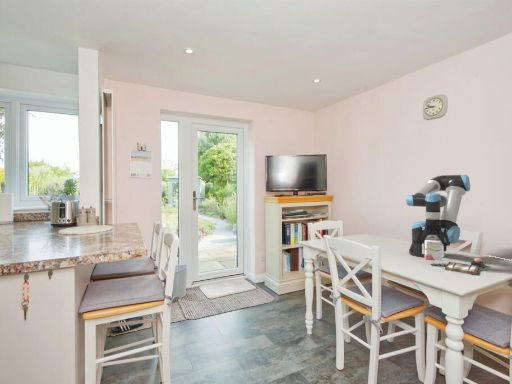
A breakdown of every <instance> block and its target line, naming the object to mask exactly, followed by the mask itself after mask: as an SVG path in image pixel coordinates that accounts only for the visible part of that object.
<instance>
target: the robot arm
mask: <svg viewBox="0 0 512 384" xmlns="http://www.w3.org/2000/svg"><path fill="white" fill-rule="evenodd" d="M470 191H471V180H470V177H469V176H468V175H467V174H449V175H448V174H446V175H443V174H442V175H438V176H435V177H433V178H431V179H429V180H427V181H426V183H425V184H424V186H423V187H421V189H419V190H418V191H417V192H415V193H414V194H408V195H406V198H405V202H406V203H405V204H406V205H407V206H410V207H424V208H425V220H423V221H414V222H413V223H412V225H411V244H410V246H409V249H408V254H409V255H411V256H414V257H418V258H424V240H425V239H426V237H427V236H428V235H437V236H438V237H439V239H440V241H441V242H442V258H444V257H445V252H447V246H448V247H449V246H450V245H451V244H452V245H454V244H456V243H457V242H458V241H459V239H460V237H461V228H460V226H459V224H458V223H457V219H458V215H459V210H460V207H461V204H462V199H463V196H465V195H466V194H467V192H470ZM438 192H445V193H446V196H445V195H442V194H440V193H438ZM441 208H443V209H442V212H441ZM430 238H435V237H433V236H432V237H430Z"/></svg>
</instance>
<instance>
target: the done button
mask: <svg viewBox="0 0 512 384" xmlns="http://www.w3.org/2000/svg"><path fill="white" fill-rule="evenodd" d="M473 260H474V262H478V263H482V261H483V258H479V257H474V258H473Z"/></svg>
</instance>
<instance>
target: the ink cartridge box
mask: <svg viewBox="0 0 512 384" xmlns="http://www.w3.org/2000/svg"><path fill="white" fill-rule="evenodd" d="M432 236H433V237H435V238H430V237H432ZM442 246H443V244H442V242H441V241H440V239H439V237H438V236H437V235H428V236H427V237H426V239H425V240H424V257H423V258H424V259H425V261H436V262H437V261H439V262H442V261H443V257H442Z"/></svg>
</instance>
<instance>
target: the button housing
mask: <svg viewBox="0 0 512 384" xmlns="http://www.w3.org/2000/svg"><path fill="white" fill-rule="evenodd" d="M470 265H474V266H479V268H483V269H484V268H485V266H486V261H483V260H482V263H478V262H474V259H471V261H470Z"/></svg>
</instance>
